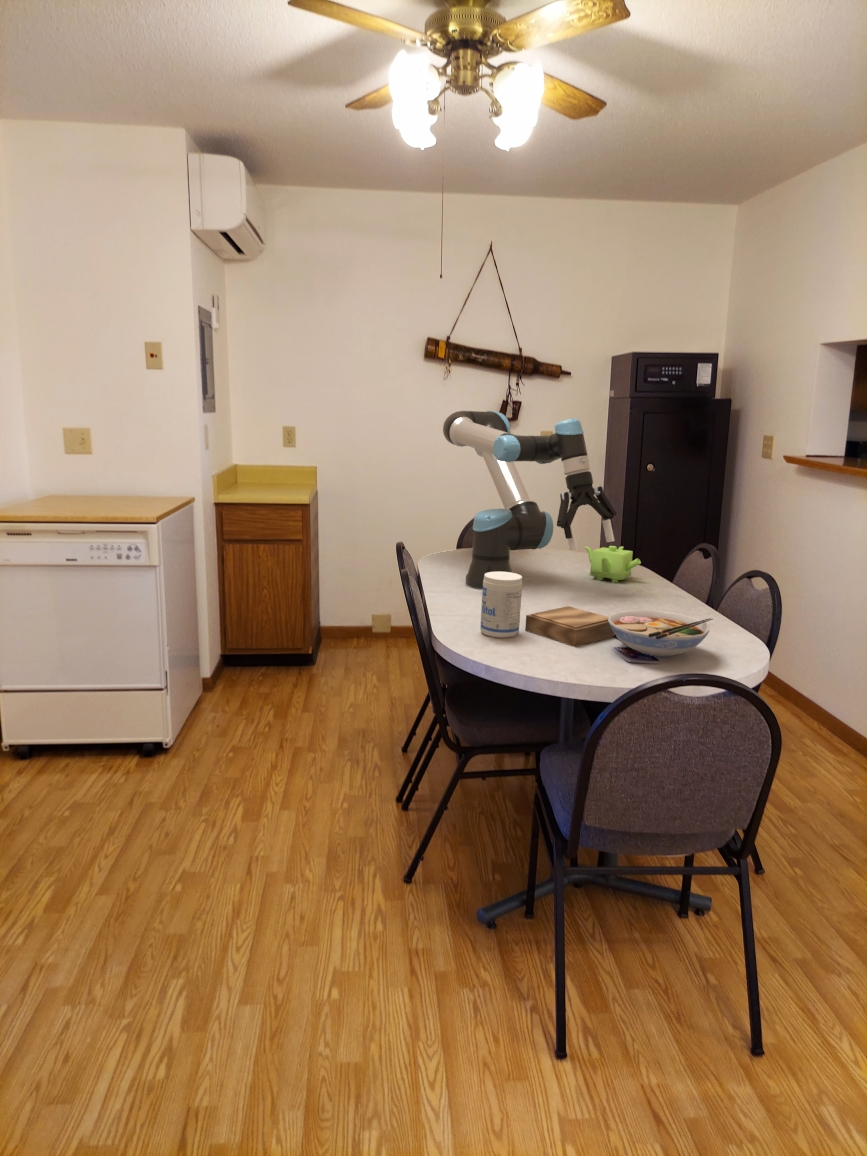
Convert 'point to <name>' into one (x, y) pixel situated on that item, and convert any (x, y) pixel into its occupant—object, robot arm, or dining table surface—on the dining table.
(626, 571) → the kettle
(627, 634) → the ramen bowl
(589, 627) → the stand
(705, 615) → the dining table surface
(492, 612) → the supplement tub
